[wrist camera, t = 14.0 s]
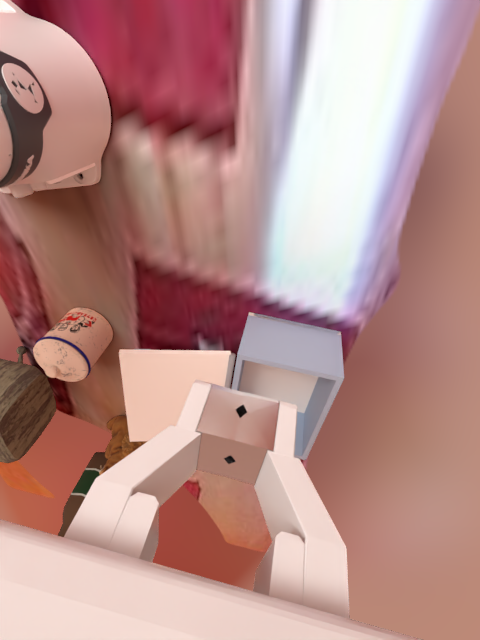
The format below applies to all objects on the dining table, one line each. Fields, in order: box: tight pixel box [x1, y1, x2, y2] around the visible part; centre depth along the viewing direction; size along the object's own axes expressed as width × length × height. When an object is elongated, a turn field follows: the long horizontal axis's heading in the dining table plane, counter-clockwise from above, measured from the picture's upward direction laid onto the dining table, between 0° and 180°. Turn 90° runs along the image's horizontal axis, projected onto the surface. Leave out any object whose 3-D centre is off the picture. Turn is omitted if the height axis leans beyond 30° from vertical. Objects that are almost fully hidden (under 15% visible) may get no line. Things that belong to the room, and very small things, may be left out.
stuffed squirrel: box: [99, 416, 148, 475], centre depth 71 cm, size 10×14×13 cm
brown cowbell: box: [0, 346, 56, 463], centre depth 61 cm, size 14×9×25 cm, turn 174°
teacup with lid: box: [33, 307, 113, 382], centre depth 57 cm, size 12×9×12 cm
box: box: [231, 312, 344, 460], centre depth 55 cm, size 20×14×10 cm
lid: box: [119, 349, 236, 442], centre depth 50 cm, size 20×15×1 cm
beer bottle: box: [58, 452, 108, 537], centre depth 80 cm, size 8×8×24 cm
